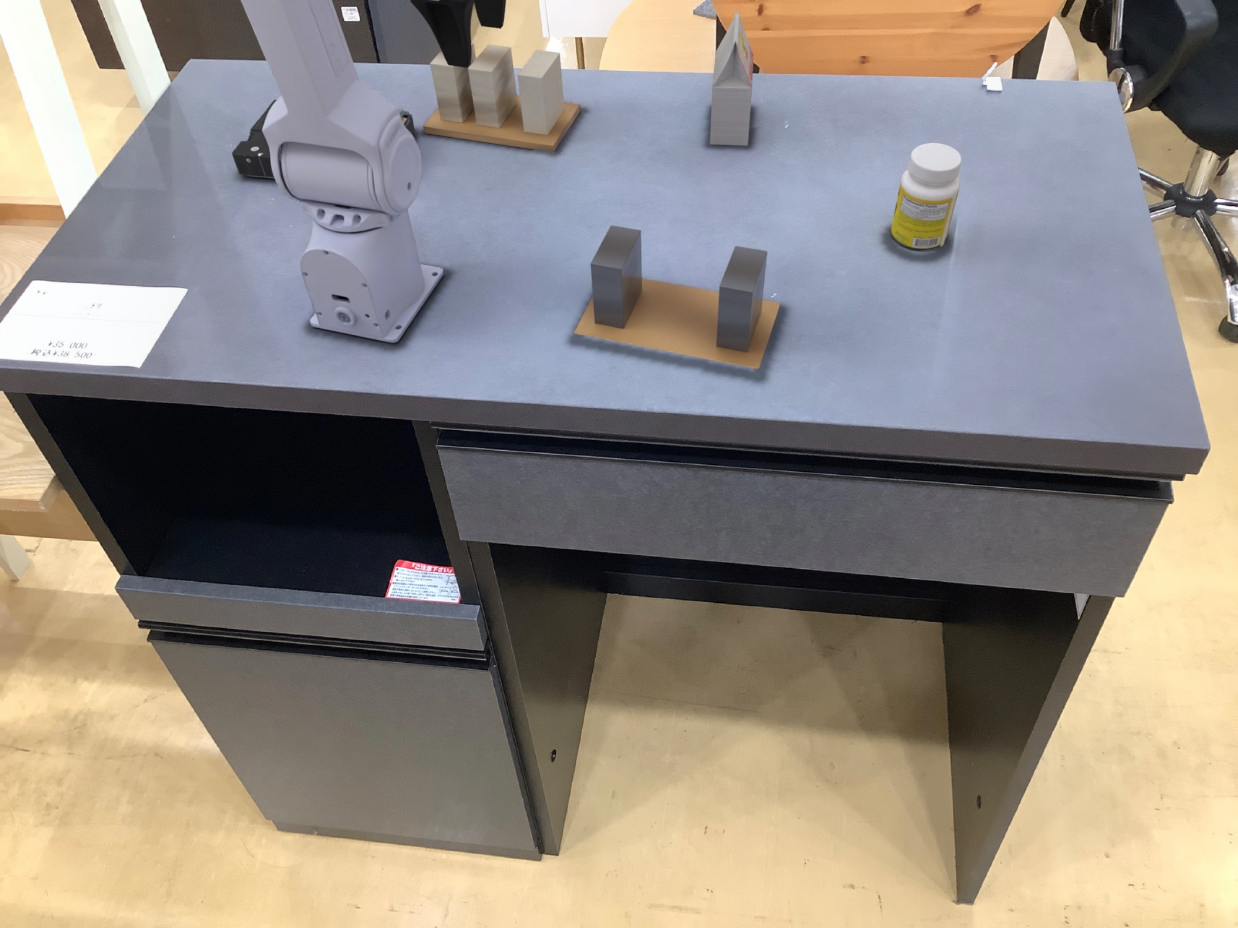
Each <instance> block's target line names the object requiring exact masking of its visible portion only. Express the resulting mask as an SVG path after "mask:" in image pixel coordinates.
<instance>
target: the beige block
mask: <svg viewBox="0 0 1238 928" xmlns="http://www.w3.org/2000/svg"><path fill="white" fill-rule="evenodd" d="M561 62H562V61H561V53H560V52H556V51H549V50H540V49H535V51H534V52H533V53H532V54H531V56H530V57H529V58H528V60H527V61H526V63H524V65H523V66H522V68H521V69H520V70H519V72H518V73H517V75H516V76H517V84H518V92H519V96H520V101H521V110H522V118H523V127H524V132H529V133H535V134H542V135H548V134H549V132H550V131H551V129H552V128H553V126H554V125H555V123H556V122H557V120H558V119H559V117H560V116H561V114H562V113H563V111H564V102H565V99H564V98H565V97H564V87H563V75H562V74H563V73H562V63H561Z"/></svg>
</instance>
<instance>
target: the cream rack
mask: <svg viewBox="0 0 1238 928" xmlns="http://www.w3.org/2000/svg"><path fill="white" fill-rule="evenodd" d="M471 46H472V57H471V64H470V65H469V67H467V68H464V67H457V66H450V65H448V64H447V62H446V60H445V58H444V55H443V53H442V51H441V50H440V51H439V53H437V55H436V56H434V58H433V60H431V62H430V63H429V64H430V65H429V66H430V71H431V75H432V81H433V82H432V83H433V86H434V91H435V97H436V102H437V108H436V109H435V111H434V112H433V114H432V115H431V116H430V117H429V119H428V120H427V121H426V122H425V123H424V124H423V125H422V128H423V132H424V134H429V135H436V136H441V137H448V138H454V139H460V140H468V141H474V142H481V143H488V144H493V145H501V146H508V147H513V148H514V147H515V148H521V149H527V150H533V151H534V150H537V151H543V152H550V153H555V151H556V150H557V148H558V147H559V145H560V144H561V142H562V140H563V139H564V137H565V136H566V135H567V133H568V131H569V130H570V128H571V126H572V125H573V123H574V122H575V120H576V119H577V117H578V116H579V114H580V112H581V104H580V103H574V102H567V101H564V111H563V113H562V114H561V116H560V117H559V119H558V120H557V122H556V123H555V125H554V126H553V128H552V129H551V131H550V132H549V134H548V135H542V134H535V133H529V132H524V127H523V118H522V110H521V101H520V95H518V93H517V85H516V77H515V69H514V60H513V53H512V47H511V46H505V45H497V44H490V43H488V44H487V45H486V46H485V47H484V49H482V51H481V52H480V53H479V54H478V56H476V49H475V43H474V42H473V41H471Z"/></svg>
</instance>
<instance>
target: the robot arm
mask: <svg viewBox="0 0 1238 928" xmlns="http://www.w3.org/2000/svg"><path fill="white" fill-rule="evenodd" d="M240 2H241V4H242V7H243V9H244V11H245V14H246V16H247V18H248V20H249V23H250V25H251V27H252V30H253V32H254V35H255V37H256V39H257V42H258V45H259V46H260V49H261V51H262V54H263V56H264V58H265V60H266V63H267V65H268V68H269V70H270V72H271V75H272V77H273V79H274V81H275V84H276V86H277V89H278V91H279V93H280V96H278V98H277V99H275V100H276V102H275V103H274V104H273V105H272V107H271V109H270V110H269V112H268V114H267V117H266V120H265V123H264V126H263V129H262V131H263V134H264V136H265V138H266V140H267V143H268V145H269V149H270V155H271V167H272V172H273V175H274V178H273V179H274V180H275V183H276V185H277V187H278V189H279V190H280V192H281V193H282V194H283V195H284V196H285V197H287V198H288V199H290V200H294V201H298V202H299V205H300V208H301V211H302V214H303V215H307V216H310V217H311V218H312V230H311V236H310V239H309V241H308V244H307V246H306V248H305V250H304V251H303V253H302V256H301V258H300V261H299V268H300V275H301V276H302V279H303V282H304V285H305V287H306V290H307V293H308V297H309V299H310V303H311V306H312V308H313V310H314V311H313V312H314V314H313V315H312V316H311V318H310V319H309V323H310V326H311V327H314V328H319V329H323V330H328V331H333V332H337V333H342V334H346V335H353V336H357V337H362V338H366V339H371V340H377V341H380V342H386V343H392V344H393V343H395V344H396V343H398V342H399V341H400V339H401V338H402V337H403V335H404V334H405V332H406V331H407V329H408V327H409V326H410V325H411V323H412V322H413V320H414V319H415V317H416V316H417V315H418V313H419V312H420V310H421V309H422V307H423V306H424V304H425V303H426V302H427V300H428V298H429V297H430V295H431V293H433V291H434V289H435V288H436V286H437V285H438V283H439V282H440V281H441V279H442V277H443V276H444V269H443V268H442V267H440V266H434V265H430V264H429V265H428V264H424V263H421V261H420V256H419V252H418V247H417V243H416V238H415V234H414V230H413V226H412V222H411V218H410V213H409V209H410V207H411V206H412V205H413V203H414V202H415V200H416V198H417V196H418V194H419V191H420V187H421V183H422V178H423V177H422V174H423V162H422V161H423V160H422V155H421V150H420V148H419V145H418V143H417V142H416V139H415V137H414V135H412V134H411V133H410V132H409V131H408V130H407V129H406V127H405V126H404V124H403V122H402V119H401V117H400V114H399V110H398V109H399V107H398V106H397V105H396V104H394V103H393V102H392V101H391V100H390V99H388V98H386V97H384V95H382V94H380V93H379V92H378V91H376V90H375V89H374V88H373V87H371V86H369V85H367V84H366V83H365V82H363V81H362V79H360V78H359V76H358V75H359V74H358V73H357V69H356V66H355V63H354V60H353V58H352V55H351V51H350V49H349V46H348V44H347V43H348V42H347V40H346V38H345V35H344V31H343V27H342V25H341V22H340V20H339V16H338V14H337V11H336V8H335V6H334V3H333V0H240ZM409 2H410V3H411V4H412V6H413V7H414V8H415V9H416V10H417V11H418V12H419V14H420V15H421V16H422V17H423V19H424V20H425V22H426V23H427V25H428V26H429V29H430V30H431V31H432V33H433V34H432V35H433V36H434V37H435V40H436V42H437V44H438V46H439V49H440V52H441V51H442V53H443V55H444V58H445V60H446V62H447V64H448V65H450V66H457V67H464V68H467V67H469V65H470V64H471V57H472V46H471V42H472V31H471V29H472V15H473V8H474V9H475V12H476V16H477V19H478V22H479V25H480V27H483V28H484V27H485V28H491V29H492V28H493V29H499V30H500V29H502V28H503V27H504V24H505V23H504V22H505V16H506V7H507V0H409Z"/></svg>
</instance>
